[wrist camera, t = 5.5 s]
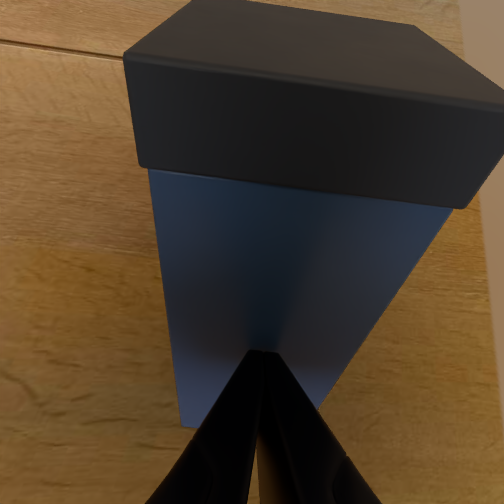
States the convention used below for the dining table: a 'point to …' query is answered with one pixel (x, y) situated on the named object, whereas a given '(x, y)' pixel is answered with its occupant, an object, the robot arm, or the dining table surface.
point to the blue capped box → (297, 178)
